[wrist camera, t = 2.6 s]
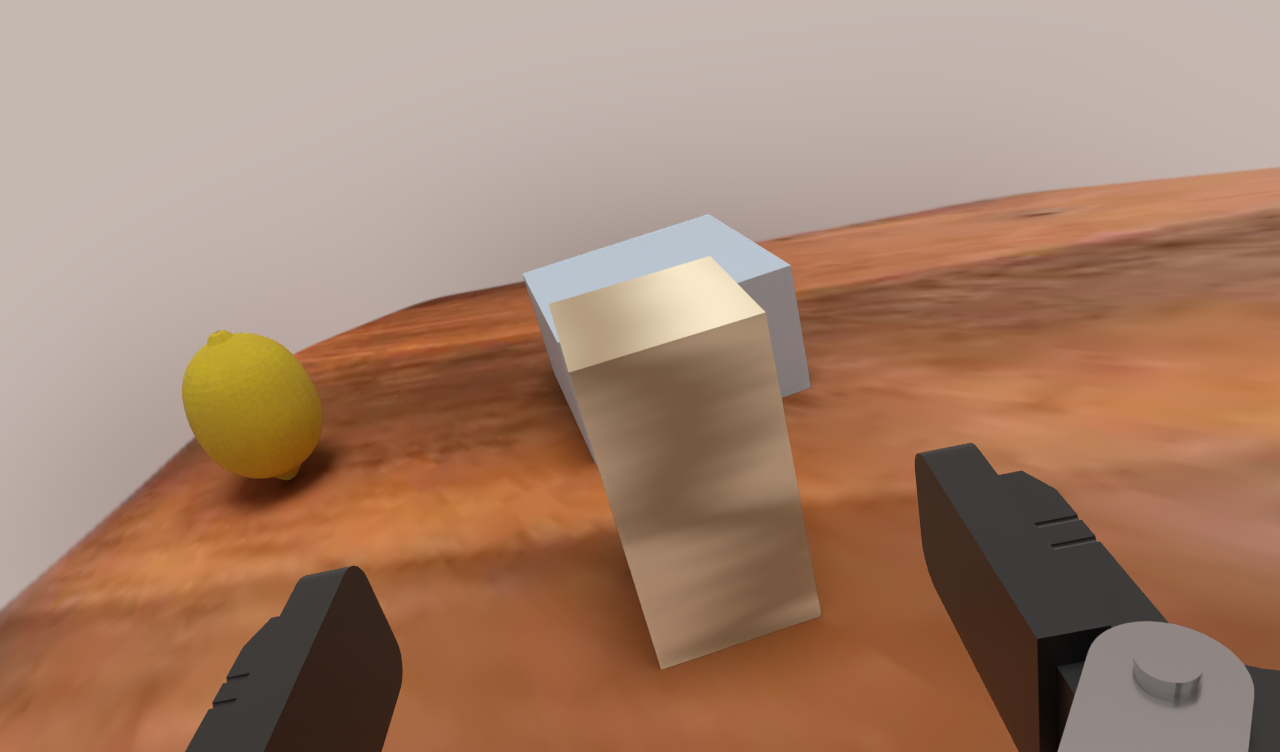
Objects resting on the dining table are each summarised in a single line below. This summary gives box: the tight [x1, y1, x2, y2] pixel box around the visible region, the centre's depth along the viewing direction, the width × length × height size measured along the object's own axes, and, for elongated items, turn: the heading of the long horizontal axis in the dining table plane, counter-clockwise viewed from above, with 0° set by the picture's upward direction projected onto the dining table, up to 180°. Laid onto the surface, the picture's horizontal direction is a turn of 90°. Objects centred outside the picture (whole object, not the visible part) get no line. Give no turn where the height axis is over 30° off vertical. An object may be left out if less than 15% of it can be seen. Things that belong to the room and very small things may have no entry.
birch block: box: [549, 256, 822, 670], centre depth 25 cm, size 5×5×10 cm
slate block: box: [523, 214, 811, 464], centre depth 39 cm, size 10×10×6 cm
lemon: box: [182, 330, 322, 480], centre depth 39 cm, size 6×6×8 cm
